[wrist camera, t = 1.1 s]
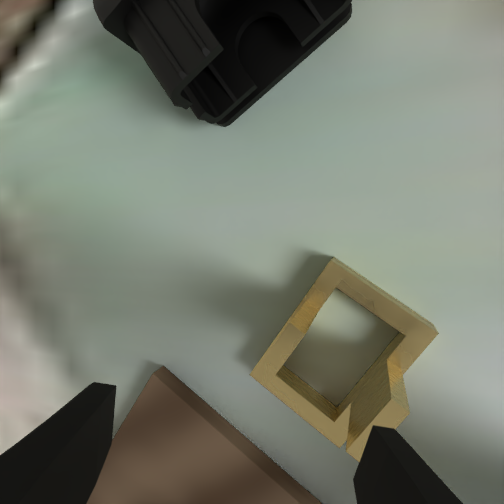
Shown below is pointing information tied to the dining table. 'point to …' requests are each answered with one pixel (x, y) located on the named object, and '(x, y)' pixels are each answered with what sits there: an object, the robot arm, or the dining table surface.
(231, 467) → the post board
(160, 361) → the dining table surface
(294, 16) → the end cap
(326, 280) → the collar
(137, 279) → the dining table surface
